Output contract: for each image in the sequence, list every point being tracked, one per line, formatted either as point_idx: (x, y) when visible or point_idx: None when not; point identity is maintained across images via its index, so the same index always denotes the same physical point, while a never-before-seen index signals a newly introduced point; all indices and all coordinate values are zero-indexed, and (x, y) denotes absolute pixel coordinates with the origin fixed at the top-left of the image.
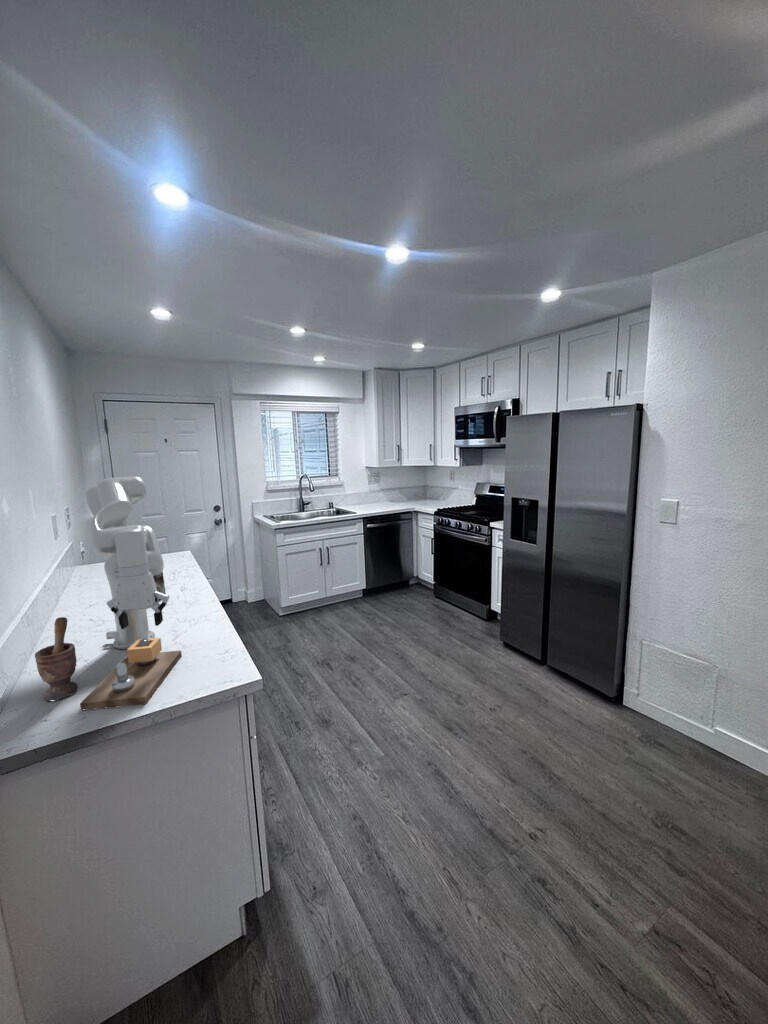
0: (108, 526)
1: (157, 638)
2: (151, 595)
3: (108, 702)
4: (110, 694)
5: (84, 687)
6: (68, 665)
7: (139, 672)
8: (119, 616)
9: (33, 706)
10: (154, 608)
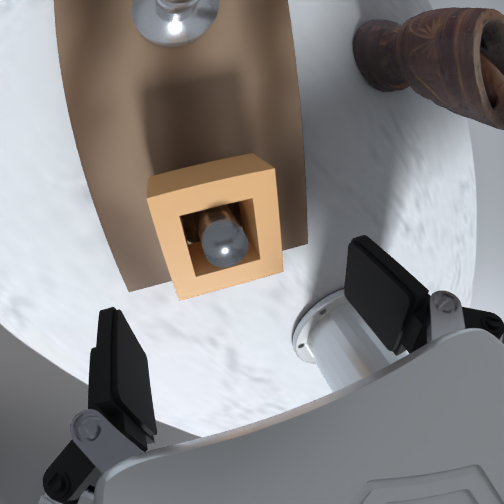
0: None
1: (188, 292)
2: None
3: None
4: None
5: (346, 77)
6: (425, 29)
7: (180, 119)
8: (425, 300)
9: (407, 15)
10: (112, 452)
